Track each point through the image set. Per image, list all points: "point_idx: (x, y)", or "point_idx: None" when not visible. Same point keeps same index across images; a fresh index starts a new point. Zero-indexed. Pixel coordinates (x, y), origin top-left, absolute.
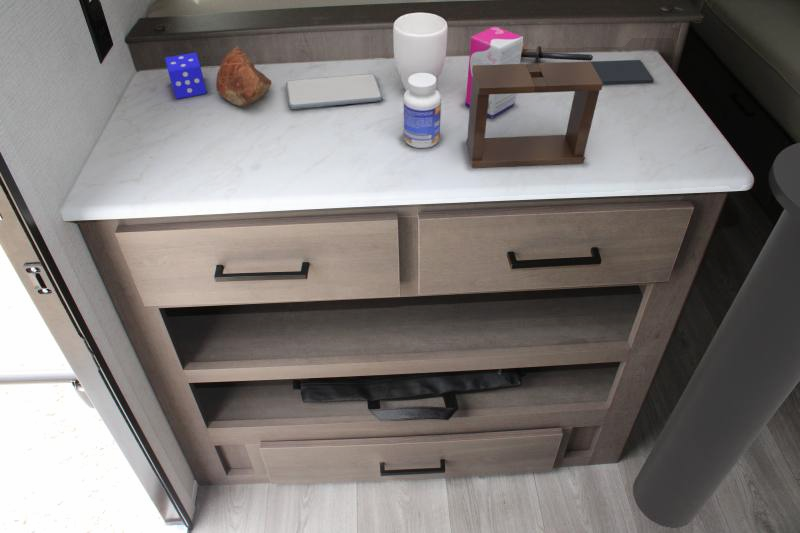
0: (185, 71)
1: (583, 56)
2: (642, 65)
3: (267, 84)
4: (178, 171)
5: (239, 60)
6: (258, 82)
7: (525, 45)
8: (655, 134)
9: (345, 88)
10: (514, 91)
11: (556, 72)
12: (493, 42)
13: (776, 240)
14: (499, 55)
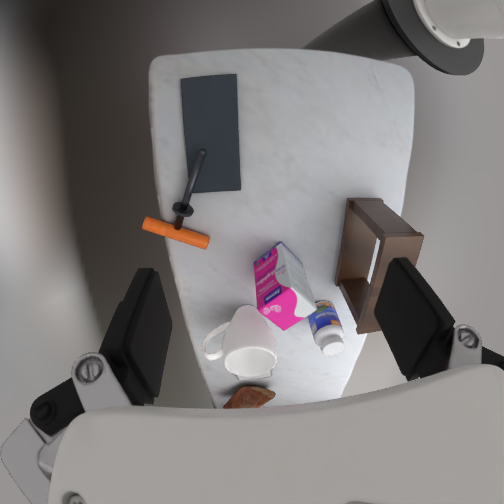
0: None
1: (202, 161)
2: (197, 79)
3: (257, 390)
4: (320, 393)
5: None
6: (272, 398)
7: (149, 217)
8: (348, 113)
9: None
10: None
11: None
12: (302, 314)
13: (407, 51)
14: (315, 304)
